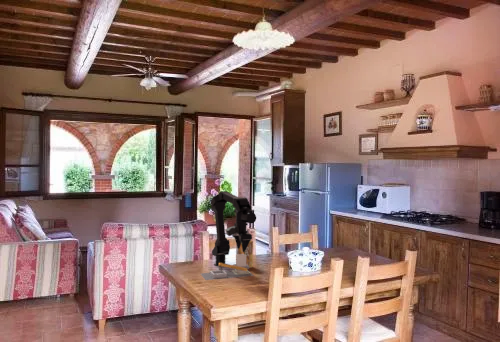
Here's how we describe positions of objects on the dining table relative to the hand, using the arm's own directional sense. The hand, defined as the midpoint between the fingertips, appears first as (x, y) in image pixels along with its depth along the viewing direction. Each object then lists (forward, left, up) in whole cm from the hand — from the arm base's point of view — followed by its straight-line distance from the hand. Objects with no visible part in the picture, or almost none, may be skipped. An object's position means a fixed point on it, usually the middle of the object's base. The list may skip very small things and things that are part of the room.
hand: (241, 250), depth 231 cm
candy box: (-14, +6, -13) cm, 20 cm away
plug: (0, 0, -12) cm, 12 cm away
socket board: (+2, -9, -13) cm, 16 cm away
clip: (+4, -6, -8) cm, 11 cm away
